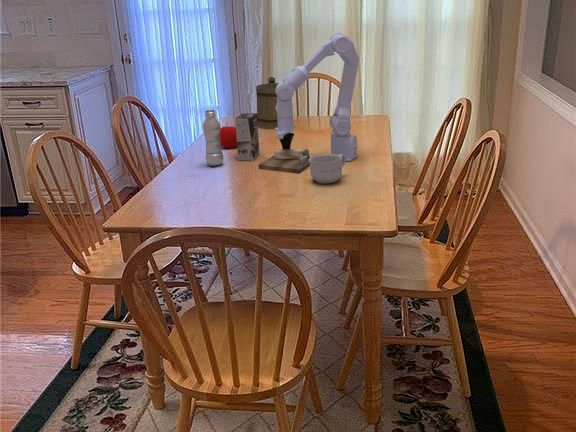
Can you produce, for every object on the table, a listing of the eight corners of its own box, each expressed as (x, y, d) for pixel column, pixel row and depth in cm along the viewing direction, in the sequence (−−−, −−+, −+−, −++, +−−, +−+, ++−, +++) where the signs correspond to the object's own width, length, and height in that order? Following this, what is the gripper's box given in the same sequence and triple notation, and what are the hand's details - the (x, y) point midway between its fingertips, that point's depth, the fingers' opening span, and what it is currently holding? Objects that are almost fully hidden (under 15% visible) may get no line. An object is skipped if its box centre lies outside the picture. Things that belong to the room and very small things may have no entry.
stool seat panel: (316, 161, 209) (316, 151, 207) (299, 173, 197) (298, 162, 195) (277, 157, 216) (277, 147, 214) (258, 168, 203) (258, 158, 202)
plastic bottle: (227, 163, 211) (222, 109, 203) (217, 168, 205) (212, 113, 198) (212, 161, 214) (207, 108, 206) (202, 166, 208) (197, 112, 200)
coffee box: (254, 160, 212) (251, 118, 206) (237, 160, 214) (234, 118, 208) (260, 154, 221) (257, 112, 214) (244, 153, 222) (241, 112, 216)
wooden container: (286, 129, 256) (284, 79, 247) (254, 129, 258) (251, 80, 250) (292, 121, 269) (290, 74, 261) (261, 121, 272) (258, 74, 263)
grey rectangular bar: (309, 156, 209) (309, 149, 208) (308, 158, 206) (308, 151, 205) (275, 156, 210) (275, 149, 209) (274, 158, 207) (274, 151, 206)
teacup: (320, 188, 182) (319, 164, 179) (303, 179, 191) (303, 156, 188) (356, 180, 188) (356, 157, 185) (338, 171, 197) (338, 149, 194)
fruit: (242, 144, 235) (240, 120, 232) (238, 150, 227) (236, 125, 223) (220, 144, 236) (218, 120, 233) (216, 150, 228) (213, 125, 224)
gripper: (280, 111, 212) (281, 147, 217) (268, 120, 199) (270, 158, 204) (298, 112, 210) (299, 148, 215) (287, 121, 197) (288, 159, 203)
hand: (286, 153), depth 210 cm, fingers closed, pressing on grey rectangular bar
